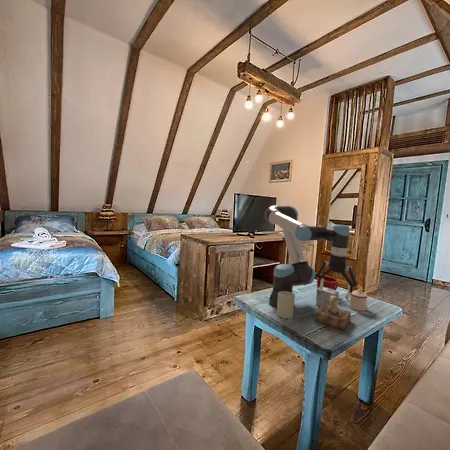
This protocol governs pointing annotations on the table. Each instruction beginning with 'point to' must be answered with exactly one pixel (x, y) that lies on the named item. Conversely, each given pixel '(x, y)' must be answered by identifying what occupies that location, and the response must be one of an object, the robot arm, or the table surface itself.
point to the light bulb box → (325, 296)
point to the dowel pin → (333, 304)
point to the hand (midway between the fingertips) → (334, 294)
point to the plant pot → (328, 283)
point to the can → (285, 304)
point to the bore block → (333, 317)
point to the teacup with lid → (357, 300)
